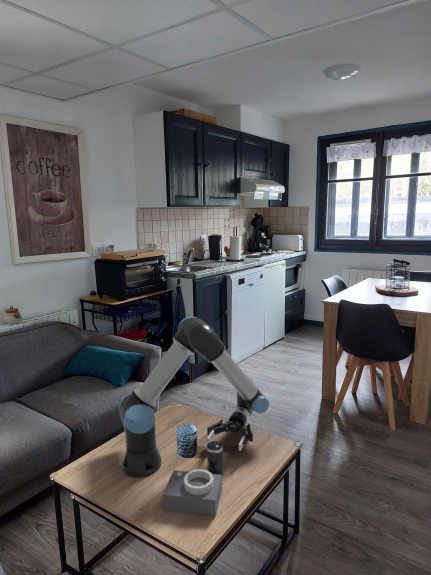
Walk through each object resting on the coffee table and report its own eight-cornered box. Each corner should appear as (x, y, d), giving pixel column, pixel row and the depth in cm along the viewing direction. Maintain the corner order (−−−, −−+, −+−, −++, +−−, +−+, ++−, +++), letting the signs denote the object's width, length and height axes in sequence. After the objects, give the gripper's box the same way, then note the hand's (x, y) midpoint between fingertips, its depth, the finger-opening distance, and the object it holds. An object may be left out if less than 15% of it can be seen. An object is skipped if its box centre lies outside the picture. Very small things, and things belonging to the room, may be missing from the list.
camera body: (163, 510, 134) (162, 487, 132) (174, 484, 146) (173, 464, 145) (215, 516, 130) (215, 493, 129) (222, 489, 143) (221, 468, 141)
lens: (206, 478, 150) (205, 449, 147) (209, 468, 155) (208, 440, 153) (222, 479, 148) (221, 450, 146) (224, 469, 154) (224, 441, 152)
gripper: (265, 431, 175) (253, 458, 155) (213, 422, 184) (195, 447, 164) (265, 415, 174) (253, 441, 154) (212, 407, 182) (194, 430, 163)
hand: (223, 444), depth 159 cm, fingers open, 13 cm apart
